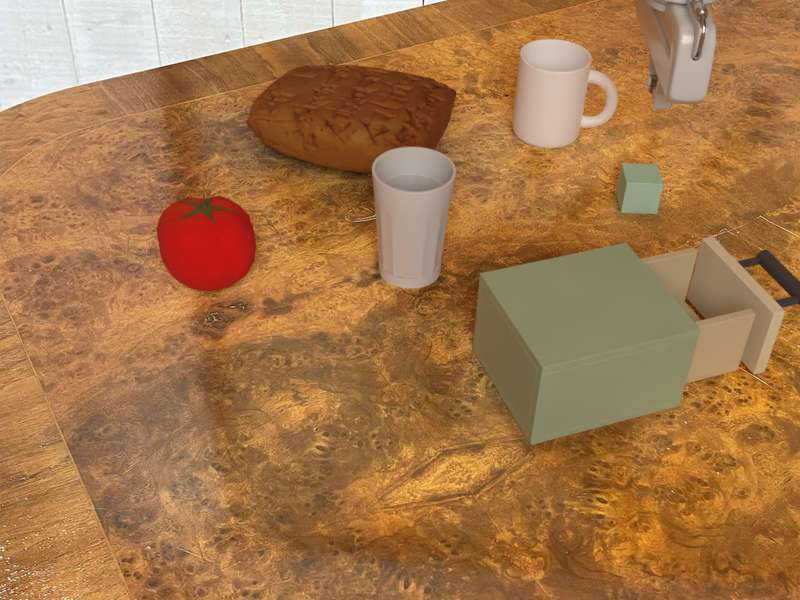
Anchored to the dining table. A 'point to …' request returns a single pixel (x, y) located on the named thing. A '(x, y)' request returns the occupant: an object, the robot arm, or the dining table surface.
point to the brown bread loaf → (350, 114)
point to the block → (639, 188)
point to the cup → (412, 213)
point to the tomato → (206, 242)
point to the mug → (556, 93)
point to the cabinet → (582, 341)
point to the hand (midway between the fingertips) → (657, 98)
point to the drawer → (726, 305)
